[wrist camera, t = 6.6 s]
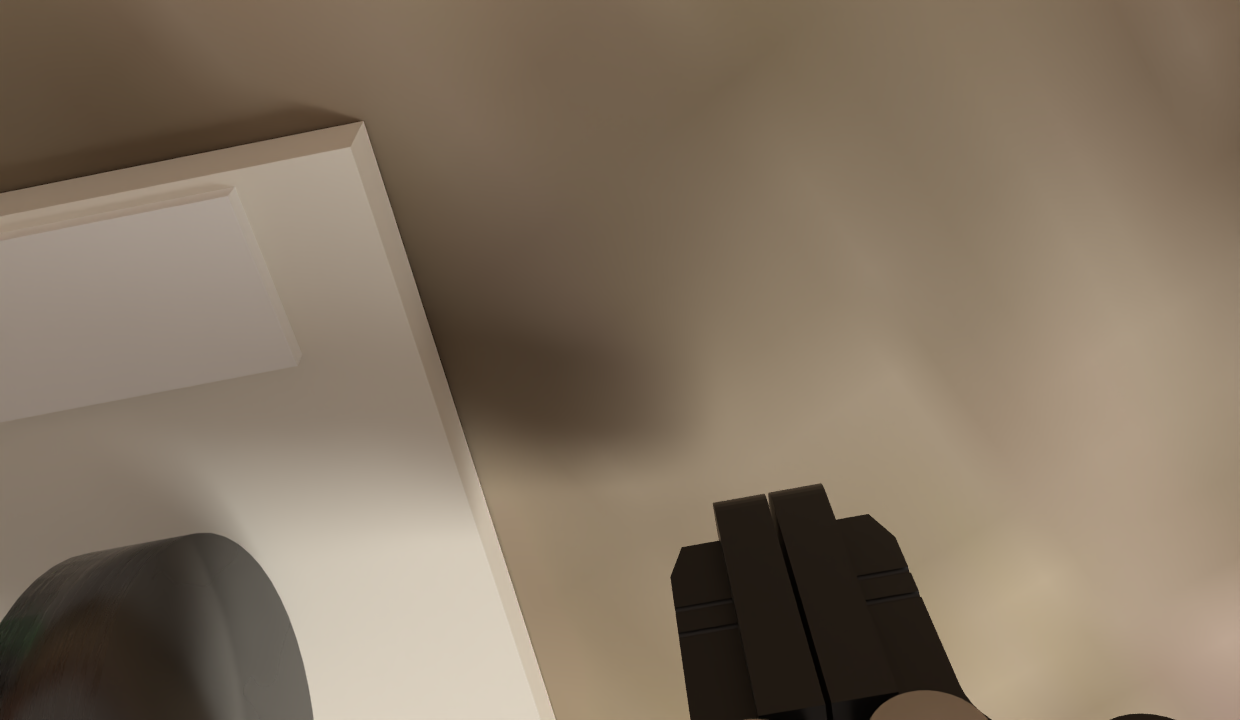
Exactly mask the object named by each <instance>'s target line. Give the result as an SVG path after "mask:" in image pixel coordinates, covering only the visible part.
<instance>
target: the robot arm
mask: <svg viewBox="0 0 1240 720" xmlns="http://www.w3.org/2000/svg"><path fill="white" fill-rule="evenodd" d="M768 497H769V505H768V502H767V499H766V496H765V494H760V495H755V496H749V497H744V498H738V499H732V500H727V501H721V502H716V503H713V508H714V514H715V520H716V526H717V532H718V537H719V541H715V542H709V543H704V544H698V545H692V546H687V547H682V548H681V551H680V554H679V556H678V559H677V561H676V564H675V567H674V569H673V572H672V574H671V584H672V591H673V599H674V606H675V611H676V620H677V627H678V634H679V641H680V648H681V655H682V662H683V669H684V676H685V684H686V691H687V698H688V705H689V712H690V719H691V720H991V719H990V718H988V717H987V716H986V715H984V714H983V713H982V712H981V711H979V710H978V709H977V708H976V707H975V706H974V705H973V704H972V703H971V702H970V700H969V699H968V698H967V696H966V695H965V694H964V692H963V690H962V688H961V686H960V684H959V682H958V680H957V678H956V675H955V673H954V671H953V668H952V666H951V664H950V662H949V659H948V657H947V655H946V652H945V650H944V648H943V646H942V643H941V641H940V639H939V636H938V634H937V632H936V629H935V627H934V625H933V623H932V620H931V618H930V616H929V613H928V611H927V609H926V607H925V604H924V602H923V600H922V597H920V595H919V591H918V588H917V586H916V584H915V581H914V579H913V577H912V574H911V573H909V569H908V565H907V563H906V561H905V558H904V556H903V554H902V552H901V549H900V547H899V545H898V542H897V540H896V538H895V537H894V536H893V535H892V534H891V533H890V532H889V531H887V530H886V529H885V528H884V527H883V526H882V525H881V524H879V523H878V522H877V521H876V520H875V519H874V518H872V517H871V516H870V515H869V514H866V515H860V516H855V517H849V518H843V519H838V520H836V519H835V516H834V514H833V511H832V508H831V506H830V503H829V500H828V497H827V495H826V492H825V489H824V487H823V485H822V484H815V485H809V486H804V487H798V488H793V489H787V490H781V491H776V492H770V493H769V494H768ZM769 507H770V509H769ZM1111 720H1174V719H1171V718H1168V717H1164V716H1159V715H1153V714H1128V715H1124V716H1119V717H1116V718H1113V719H1111Z"/></svg>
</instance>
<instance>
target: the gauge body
mask: <svg viewBox="0 0 1240 720" xmlns="http://www.w3.org/2000/svg"><path fill="white" fill-rule="evenodd" d="M194 533H214V534H217V535H221V536H225V537H227V538H228V539H230V540H232V541H234V542H236V543H238V544H239V545H240V546H241V547H242V548H244V549H245V550H246V551H247V552H248V553H250V554H251V556H252V557H253V558H254V559H255V560H256V561H257V562H258V563H259V565H260V566H261V567H262V569H263V570H264V571H265V573H266V574H267V576H268V577H269V579H270V580H271V582H272V584H273V585H274V587H275V589H276V591H277V593H278V595H279V596H280V598H281V600H282V603H283V605H284V607H285V610H286V612H287V614H288V616H289V619H290V622H291V624H292V627H293V630H294V633H295V636H296V639H297V642H298V645H299V649H300V652H301V656H302V660H303V664H304V668H305V672H306V677H307V681H308V686H309V692H310V698H311V704H312V710H313V719H314V720H556V719H555V716H554V713H553V710H552V707H551V704H550V701H549V697H548V694H547V691H546V688H545V685H544V682H543V679H542V676H541V673H540V669H539V666H538V663H537V660H536V657H535V654H534V651H533V648H532V645H531V641H530V638H529V635H528V632H527V629H526V626H525V623H524V620H523V616H522V613H521V610H520V607H519V604H518V601H517V598H516V595H515V592H514V588H513V585H512V582H511V579H510V576H509V573H508V570H507V567H506V564H505V560H504V557H503V554H502V551H501V548H500V545H499V542H498V539H497V535H496V532H495V529H494V526H493V523H492V520H491V517H490V514H489V511H488V507H487V504H486V501H485V498H484V495H483V492H482V489H481V486H480V482H479V479H478V476H477V473H476V470H475V467H474V464H473V461H472V458H471V454H470V451H469V448H468V445H467V442H466V439H465V436H464V433H463V430H462V426H461V423H460V420H459V417H458V414H457V411H456V408H455V405H454V401H453V398H452V395H451V392H450V389H449V386H448V383H447V380H446V377H445V373H444V370H443V367H442V364H441V361H440V358H439V355H438V352H437V348H436V345H435V342H434V339H433V336H432V333H431V330H430V327H429V324H428V320H427V317H426V314H425V311H424V308H423V305H422V302H421V299H420V296H419V292H418V289H417V286H416V283H415V280H414V277H413V274H412V271H411V267H410V264H409V261H408V258H407V255H406V252H405V249H404V246H403V243H402V239H401V236H400V233H399V230H398V227H397V224H396V221H395V218H394V214H393V211H392V208H391V205H390V202H389V199H388V196H387V193H386V190H385V186H384V183H383V180H382V177H381V174H380V171H379V168H378V165H377V162H376V158H375V155H374V152H373V149H372V146H371V143H370V140H369V137H368V133H367V130H366V127H365V124H364V121H361V122H356V123H351V124H346V125H341V126H336V127H331V128H326V129H321V130H316V131H311V132H306V133H301V134H296V135H291V136H286V137H281V138H276V139H271V140H266V141H261V142H256V143H251V144H246V145H240V146H235V147H230V148H225V149H220V150H215V151H210V152H205V153H200V154H195V155H190V156H185V157H180V158H175V159H170V160H165V161H160V162H155V163H150V164H145V165H140V166H135V167H130V168H125V169H120V170H115V171H110V172H105V173H100V174H95V175H90V176H85V177H80V178H75V179H70V180H65V181H60V182H55V183H50V184H45V185H40V186H35V187H30V188H25V189H20V190H15V191H10V192H5V193H0V623H1V621H2V620H3V618H4V617H5V616H6V614H7V613H8V611H9V610H10V609H11V607H12V606H13V604H14V603H15V602H16V600H17V599H18V598H19V597H20V596H21V594H22V593H23V592H24V591H25V590H26V589H27V588H28V587H29V586H30V585H31V584H32V583H33V582H34V581H35V580H36V579H37V578H39V577H40V576H41V575H42V574H44V573H45V572H46V571H48V570H49V569H50V568H52V567H53V566H55V565H57V564H59V563H61V562H63V561H65V560H67V559H69V558H71V557H75V556H79V555H83V554H86V553H91V552H96V551H102V550H107V549H113V548H118V547H124V546H129V545H134V544H140V543H145V542H151V541H156V540H162V539H167V538H172V537H178V536H183V535H189V534H194Z"/></svg>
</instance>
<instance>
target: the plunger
mask: <svg viewBox="0 0 1240 720" xmlns="http://www.w3.org/2000/svg"><path fill="white" fill-rule="evenodd" d="M0 720H314V719H313V710H312V704H311V698H310V692H309V686H308V681H307V677H306V672H305V668H304V664H303V660H302V656H301V652H300V649H299V645H298V642H297V639H296V636H295V633H294V630H293V627H292V624H291V622H290V619H289V616H288V614H287V612H286V610H285V607H284V605H283V603H282V600H281V598H280V596H279V595H278V593H277V591H276V589H275V587H274V585H273V584H272V582H271V580H270V579H269V577H268V576H267V574H266V573H265V571H264V570H263V569H262V567H261V566H260V565H259V563H258V562H257V561H256V560H255V559H254V558H253V557H252V556H251V554H250V553H248V552H247V551H246V550H245V549H244V548H242V547H241V546H240V545H239V544H238V543H236V542H234V541H232V540H230V539H228V538H227V537H225V536H221V535H217V534H214V533H194V534H189V535H183V536H178V537H172V538H167V539H162V540H156V541H151V542H145V543H140V544H134V545H129V546H124V547H118V548H113V549H107V550H102V551H96V552H91V553H86V554H83V555H79V556H75V557H71V558H69V559H67V560H65V561H63V562H61V563H59V564H57V565H55V566H53V567H52V568H50V569H49V570H48V571H46V572H45V573H44V574H42V575H41V576H40V577H39V578H37V579H36V580H35V581H34V582H33V583H32V584H31V585H30V586H29V587H28V588H27V589H26V590H25V591H24V592H23V593H22V594H21V596H20V597H19V598H18V599H17V600H16V602H15V603H14V604H13V606H12V607H11V609H10V610H9V611H8V613H7V614H6V616H5V617H4V618H3V620H2V621H1V623H0Z"/></svg>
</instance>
